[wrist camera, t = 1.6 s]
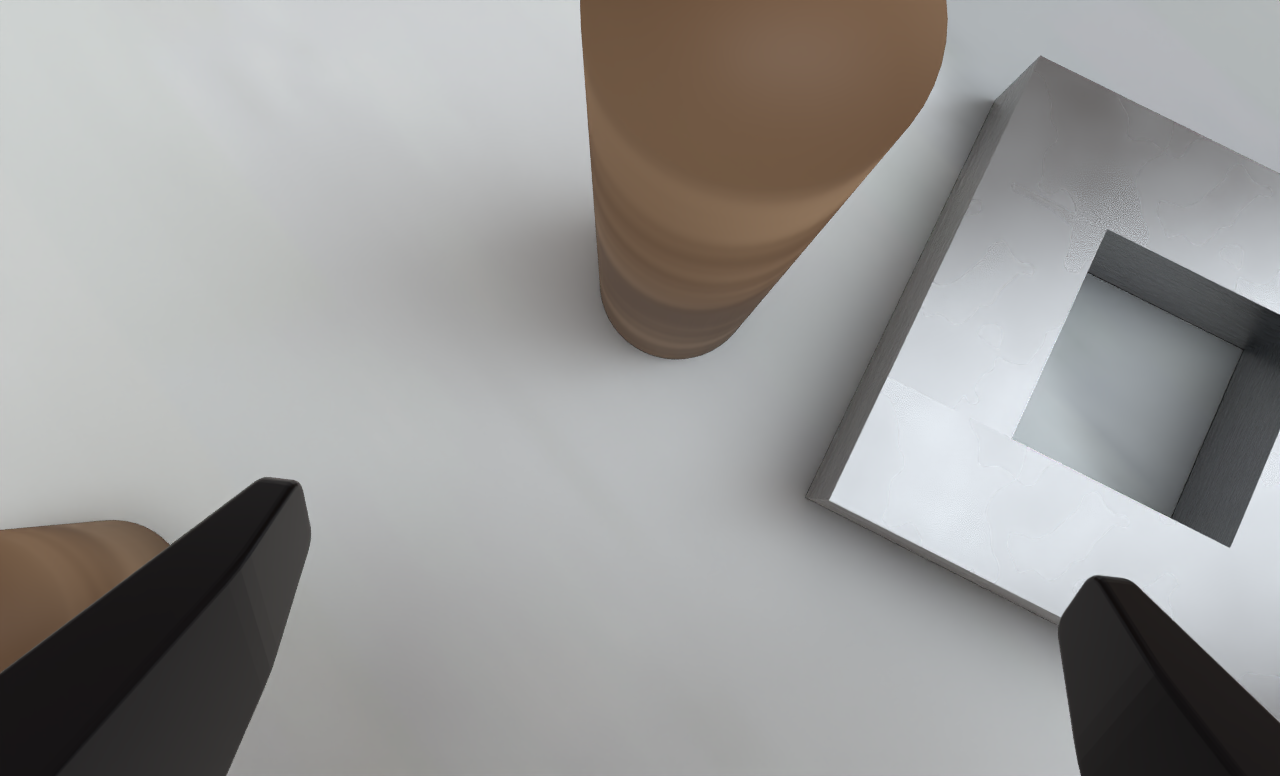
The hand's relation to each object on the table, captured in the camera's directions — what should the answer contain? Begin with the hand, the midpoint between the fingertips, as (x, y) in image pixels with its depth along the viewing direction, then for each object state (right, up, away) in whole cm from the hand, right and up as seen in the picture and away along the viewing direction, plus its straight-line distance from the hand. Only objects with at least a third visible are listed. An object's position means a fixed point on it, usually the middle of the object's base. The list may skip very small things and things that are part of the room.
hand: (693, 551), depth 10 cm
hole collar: (+12, +2, +13) cm, 18 cm away
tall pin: (0, +5, +13) cm, 14 cm away
